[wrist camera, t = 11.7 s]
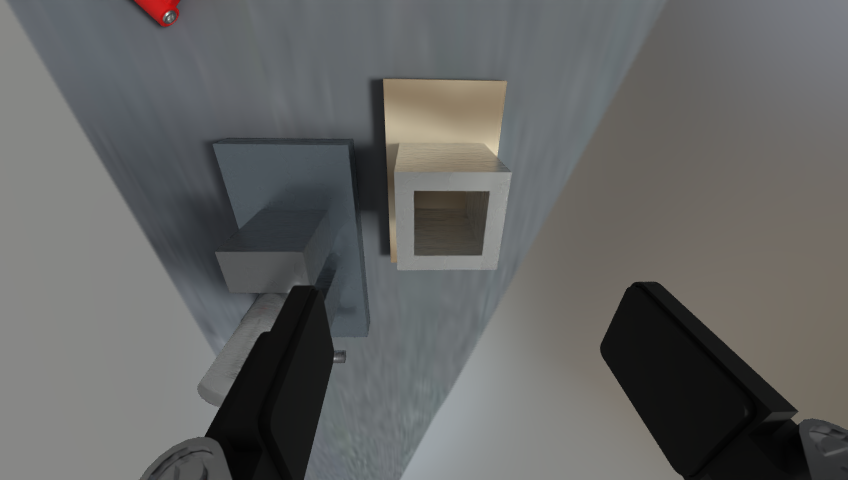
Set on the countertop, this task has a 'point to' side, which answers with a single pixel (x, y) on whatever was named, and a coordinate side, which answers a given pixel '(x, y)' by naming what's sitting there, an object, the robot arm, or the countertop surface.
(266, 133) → the countertop surface
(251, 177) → the grey peg stand
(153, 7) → the tow hook
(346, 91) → the countertop surface
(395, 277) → the countertop surface
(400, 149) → the white hollow square block
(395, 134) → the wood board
